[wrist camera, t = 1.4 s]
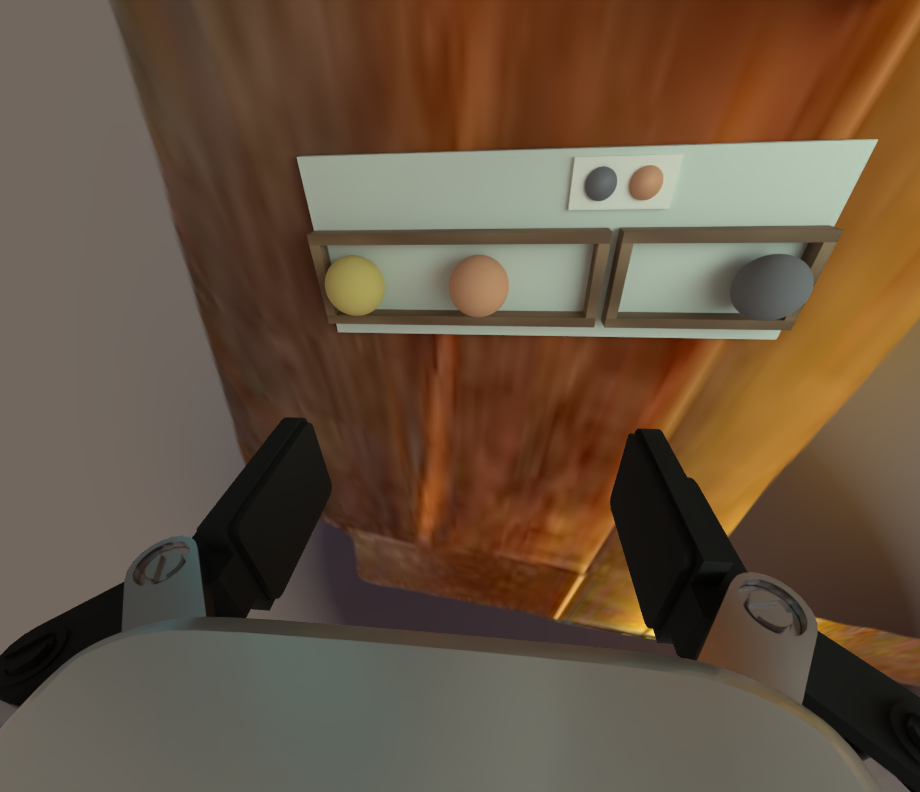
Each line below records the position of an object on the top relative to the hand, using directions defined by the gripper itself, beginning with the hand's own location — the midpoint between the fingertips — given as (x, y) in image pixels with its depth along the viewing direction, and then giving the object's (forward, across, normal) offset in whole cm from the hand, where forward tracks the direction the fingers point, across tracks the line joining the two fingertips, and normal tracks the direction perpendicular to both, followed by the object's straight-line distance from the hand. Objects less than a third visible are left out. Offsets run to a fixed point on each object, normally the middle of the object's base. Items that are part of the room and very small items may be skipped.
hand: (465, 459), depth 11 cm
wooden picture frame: (+19, +2, 0) cm, 19 cm away
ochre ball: (+17, +9, 0) cm, 19 cm away
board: (+20, -5, -1) cm, 20 cm away
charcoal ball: (+16, -18, 0) cm, 24 cm away
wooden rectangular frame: (+18, -15, 0) cm, 24 cm away
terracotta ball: (+17, 0, 0) cm, 17 cm away
